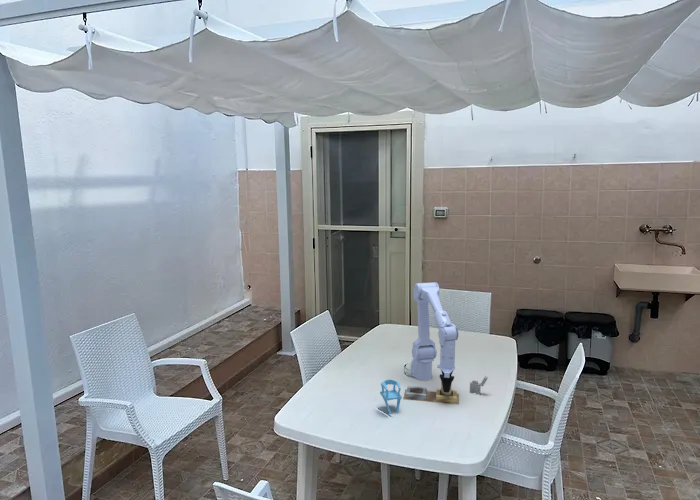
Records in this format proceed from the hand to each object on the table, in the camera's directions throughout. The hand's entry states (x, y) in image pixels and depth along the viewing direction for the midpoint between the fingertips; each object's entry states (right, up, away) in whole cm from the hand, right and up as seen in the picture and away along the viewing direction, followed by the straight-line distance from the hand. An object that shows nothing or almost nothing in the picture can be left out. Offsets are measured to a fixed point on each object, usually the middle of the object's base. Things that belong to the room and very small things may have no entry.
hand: (446, 388), depth 202 cm
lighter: (+15, -4, +7) cm, 17 cm away
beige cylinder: (0, -4, +1) cm, 4 cm away
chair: (-23, -7, -10) cm, 26 cm away
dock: (-6, -5, +2) cm, 8 cm away
